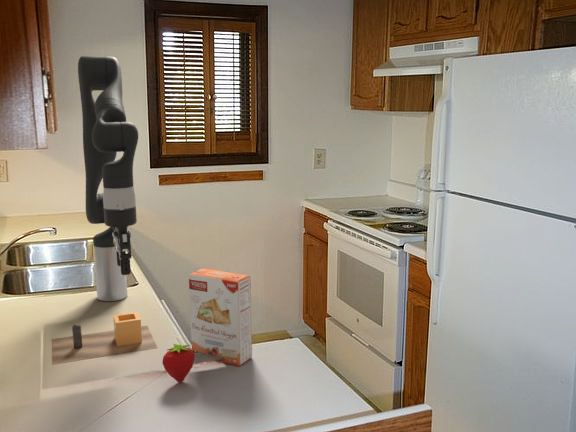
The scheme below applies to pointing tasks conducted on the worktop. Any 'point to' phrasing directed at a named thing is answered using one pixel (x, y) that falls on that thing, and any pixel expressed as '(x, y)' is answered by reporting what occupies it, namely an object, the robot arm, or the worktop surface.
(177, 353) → the strawberry
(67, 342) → the board
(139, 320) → the collar
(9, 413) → the worktop surface
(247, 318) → the cracker box
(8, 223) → the worktop surface
